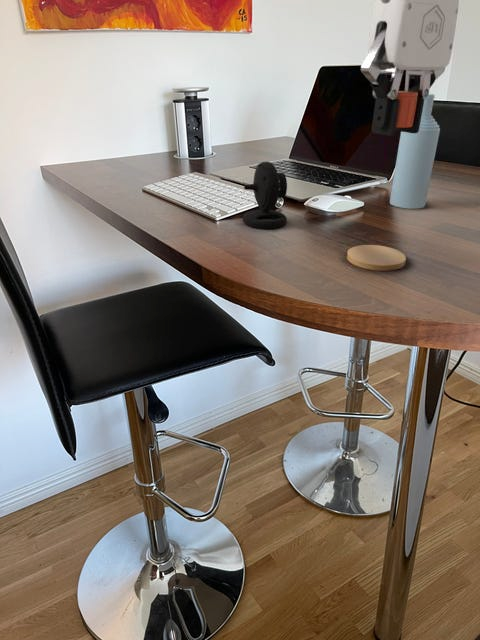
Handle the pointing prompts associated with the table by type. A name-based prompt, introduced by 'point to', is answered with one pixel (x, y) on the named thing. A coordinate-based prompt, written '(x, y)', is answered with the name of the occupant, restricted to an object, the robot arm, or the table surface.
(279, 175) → the webcam
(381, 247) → the coaster
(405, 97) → the cap
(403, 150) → the bottle
